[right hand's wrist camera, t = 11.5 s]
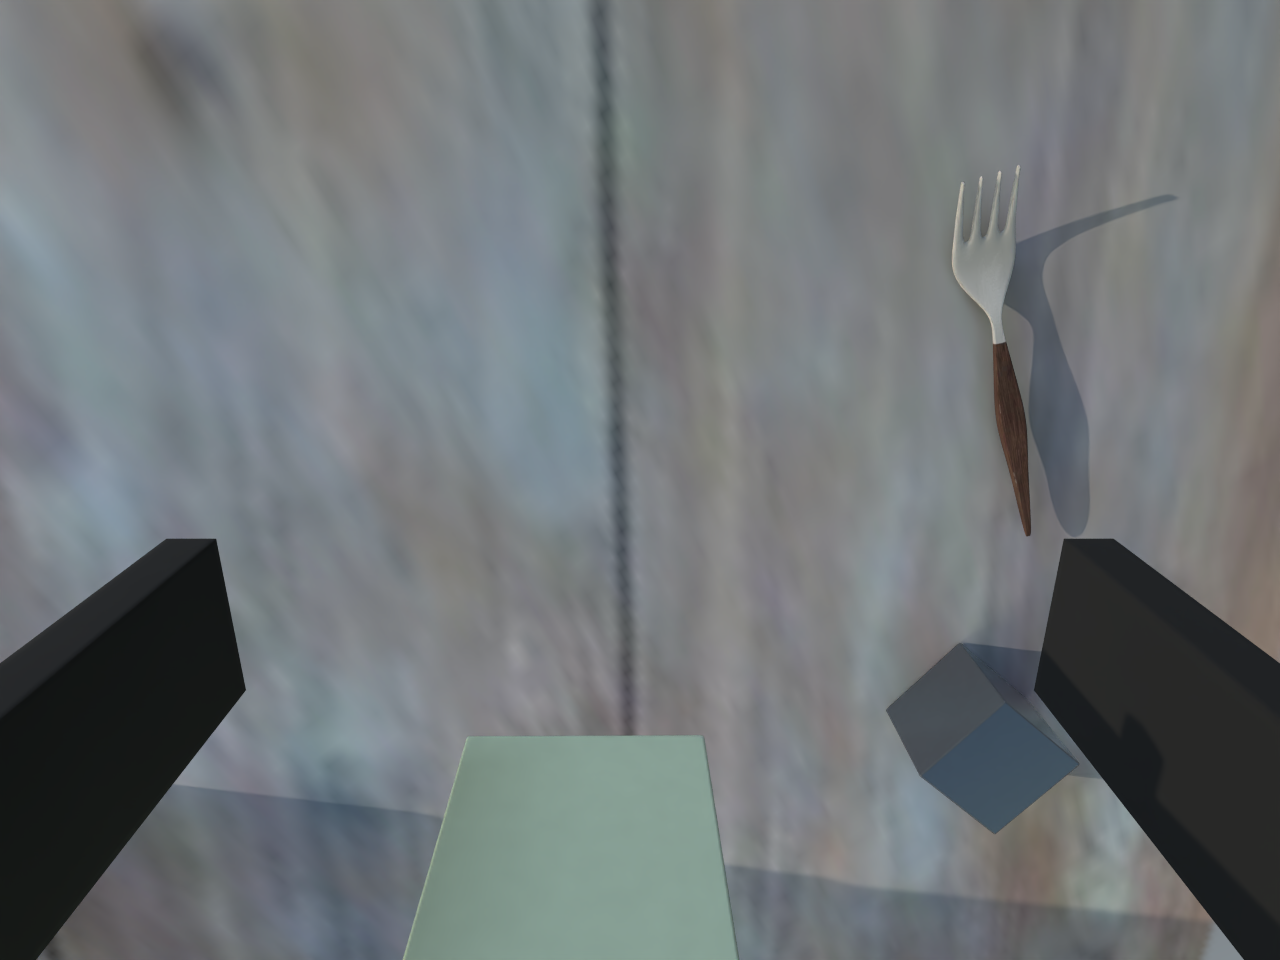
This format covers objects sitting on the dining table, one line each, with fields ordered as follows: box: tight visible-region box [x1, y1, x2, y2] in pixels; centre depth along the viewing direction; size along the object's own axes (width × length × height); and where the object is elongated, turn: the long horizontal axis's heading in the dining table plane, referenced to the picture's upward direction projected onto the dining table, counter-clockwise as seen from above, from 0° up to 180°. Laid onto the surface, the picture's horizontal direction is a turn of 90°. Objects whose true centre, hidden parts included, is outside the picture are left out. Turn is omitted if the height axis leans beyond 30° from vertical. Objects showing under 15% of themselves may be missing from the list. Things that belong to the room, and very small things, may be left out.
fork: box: [952, 165, 1031, 536], centre depth 34 cm, size 3×16×2 cm, turn 16°
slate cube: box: [886, 643, 1079, 834], centre depth 38 cm, size 5×5×5 cm
